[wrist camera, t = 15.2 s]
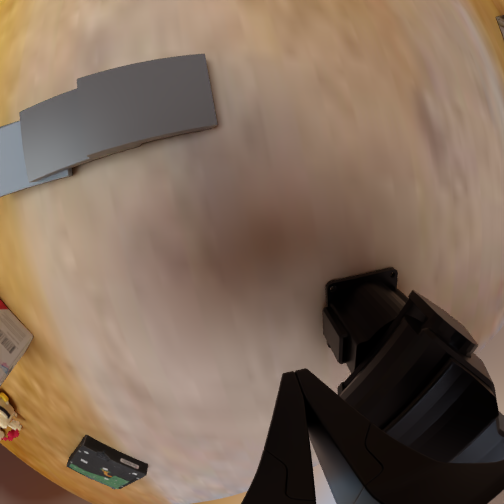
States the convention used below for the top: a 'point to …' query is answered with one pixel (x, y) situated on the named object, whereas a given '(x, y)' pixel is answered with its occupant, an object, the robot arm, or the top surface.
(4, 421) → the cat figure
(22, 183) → the domino
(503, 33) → the coffee box
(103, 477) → the disk drive
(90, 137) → the domino
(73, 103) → the domino
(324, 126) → the top surface
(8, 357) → the ink box
